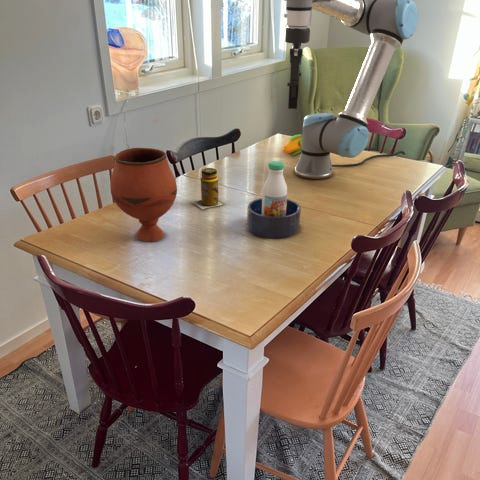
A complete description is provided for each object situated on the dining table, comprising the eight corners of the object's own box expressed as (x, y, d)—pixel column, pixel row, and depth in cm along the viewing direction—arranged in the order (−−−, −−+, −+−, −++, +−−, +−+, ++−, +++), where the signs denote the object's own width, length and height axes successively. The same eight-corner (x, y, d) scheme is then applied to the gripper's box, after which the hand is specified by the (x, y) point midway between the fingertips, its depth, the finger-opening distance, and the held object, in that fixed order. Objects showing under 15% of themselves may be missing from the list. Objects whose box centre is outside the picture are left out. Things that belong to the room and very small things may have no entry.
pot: (283, 214, 163) (284, 194, 159) (308, 233, 150) (310, 212, 146) (239, 222, 157) (239, 201, 153) (261, 242, 145) (262, 221, 141)
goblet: (126, 222, 156) (114, 144, 142) (184, 223, 156) (179, 145, 141) (111, 249, 141) (97, 164, 126) (176, 250, 140) (169, 165, 126)
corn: (311, 132, 221) (292, 142, 207) (311, 149, 225) (291, 159, 211) (297, 131, 225) (277, 140, 211) (297, 147, 229) (277, 158, 215)
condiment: (223, 204, 169) (222, 171, 162) (202, 209, 165) (201, 175, 158) (212, 198, 174) (211, 165, 167) (192, 203, 170) (190, 169, 163)
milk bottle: (256, 225, 153) (258, 162, 141) (271, 218, 158) (274, 157, 146) (274, 232, 149) (278, 168, 137) (290, 225, 153) (294, 162, 142)
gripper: (286, 22, 153) (283, 94, 165) (283, 31, 133) (279, 112, 146) (310, 22, 152) (305, 94, 165) (310, 32, 132) (304, 113, 145)
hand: (293, 103), depth 155 cm, fingers open, 13 cm apart
